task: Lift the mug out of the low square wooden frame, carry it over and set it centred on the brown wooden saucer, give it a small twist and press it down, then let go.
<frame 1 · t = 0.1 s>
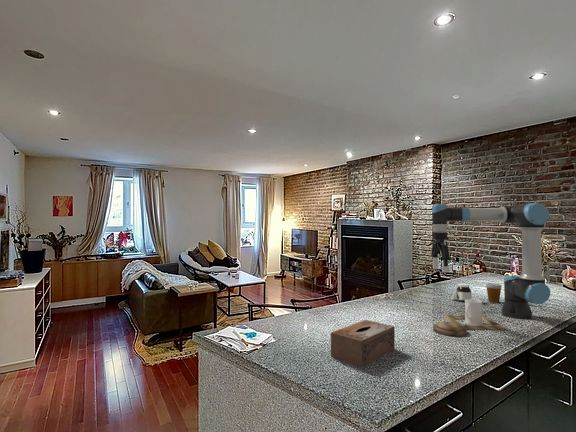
hand: (440, 270, 189), 28 cm above the kitchen island, tool pointing down, fingers open, 13 cm apart
square wooden frame: (472, 323, 185), on the kitchen island
mug: (472, 323, 185), resting in square wooden frame
brown wooden saucer: (449, 331, 171), on the kitchen island
disposable coffee cup: (493, 302, 235), on the kitchen island
tissue box cover: (363, 353, 144), on the kitchen island
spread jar: (460, 301, 238), on the kitchen island
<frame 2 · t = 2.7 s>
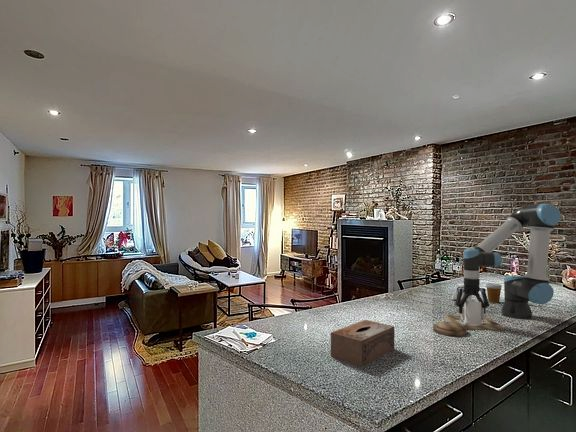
hand: (472, 319, 185), 2 cm above the kitchen island, tool pointing down, fingers open, 10 cm apart
mug: (471, 323, 185), resting in square wooden frame, touching gripper
everything else where it was.
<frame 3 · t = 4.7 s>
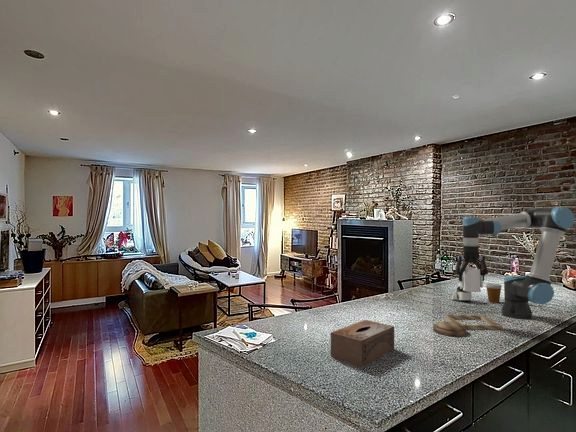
hand: (471, 287, 185), 19 cm above the kitchen island, tool pointing down, fingers closed on mug, 9 cm apart
mug: (470, 291, 185), point 17 cm above the kitchen island, touching gripper
everything else where it was.
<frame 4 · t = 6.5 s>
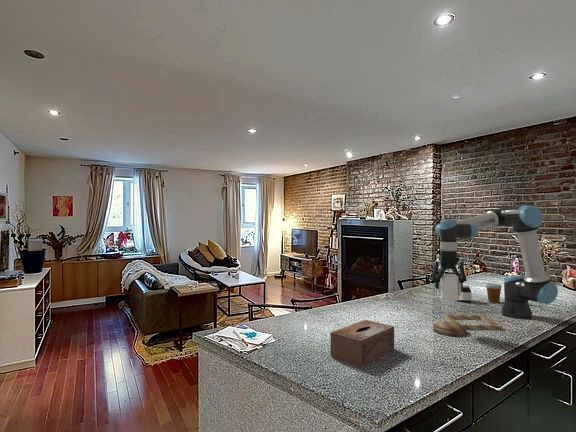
hand: (449, 295, 172), 18 cm above the kitchen island, tool pointing down, fingers closed on mug, 9 cm apart
mug: (447, 299, 172), point 16 cm above the kitchen island, touching gripper
everything else where it was.
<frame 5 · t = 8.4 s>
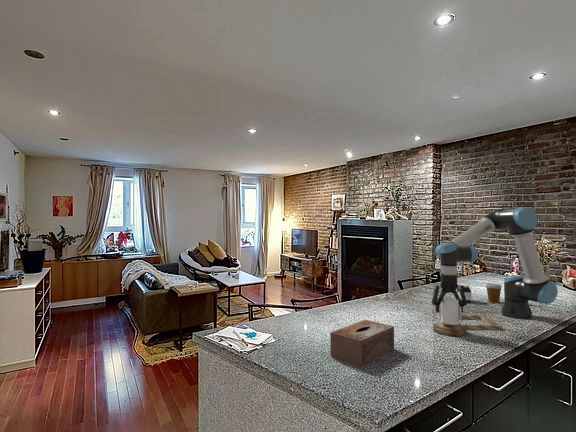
hand: (449, 319, 172), 6 cm above the kitchen island, tool pointing down, fingers closed on mug, 9 cm apart
mug: (447, 323, 171), point 4 cm above the kitchen island, touching gripper
everything else where it was.
when the fingers open (5 cm above the kitchen island, at t = 9.9 s): mug stays where it is, resting on brown wooden saucer.
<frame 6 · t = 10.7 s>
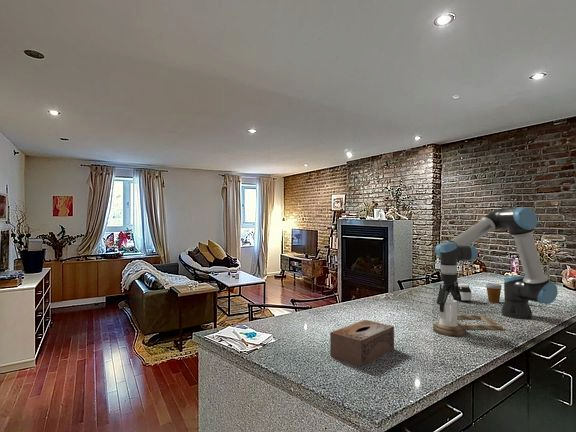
hand: (449, 315, 172), 8 cm above the kitchen island, tool pointing down, fingers open, 13 cm apart
mug: (448, 325, 171), point 3 cm above the kitchen island, touching brown wooden saucer
everything else where it was.
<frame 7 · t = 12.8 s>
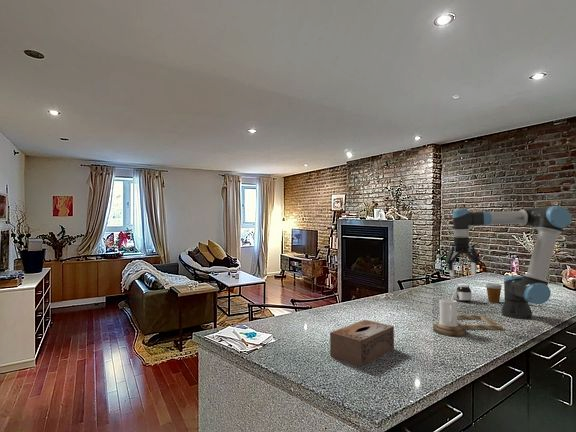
hand: (463, 275, 189), 25 cm above the kitchen island, tool pointing down, fingers open, 13 cm apart
nothing on the kitchen island moved.
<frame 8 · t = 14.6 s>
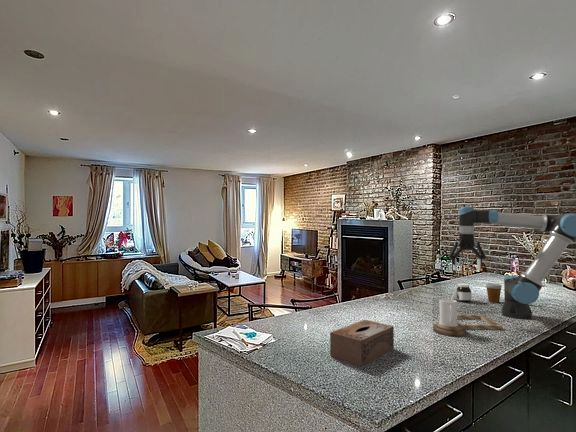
hand: (467, 270, 198), 27 cm above the kitchen island, tool pointing down, fingers open, 13 cm apart
nothing on the kitchen island moved.
at the end: mug 0.8 cm from the brown wooden saucer (horizontally); mug point 3.0 cm above the kitchen island; mug tilted 0° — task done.
